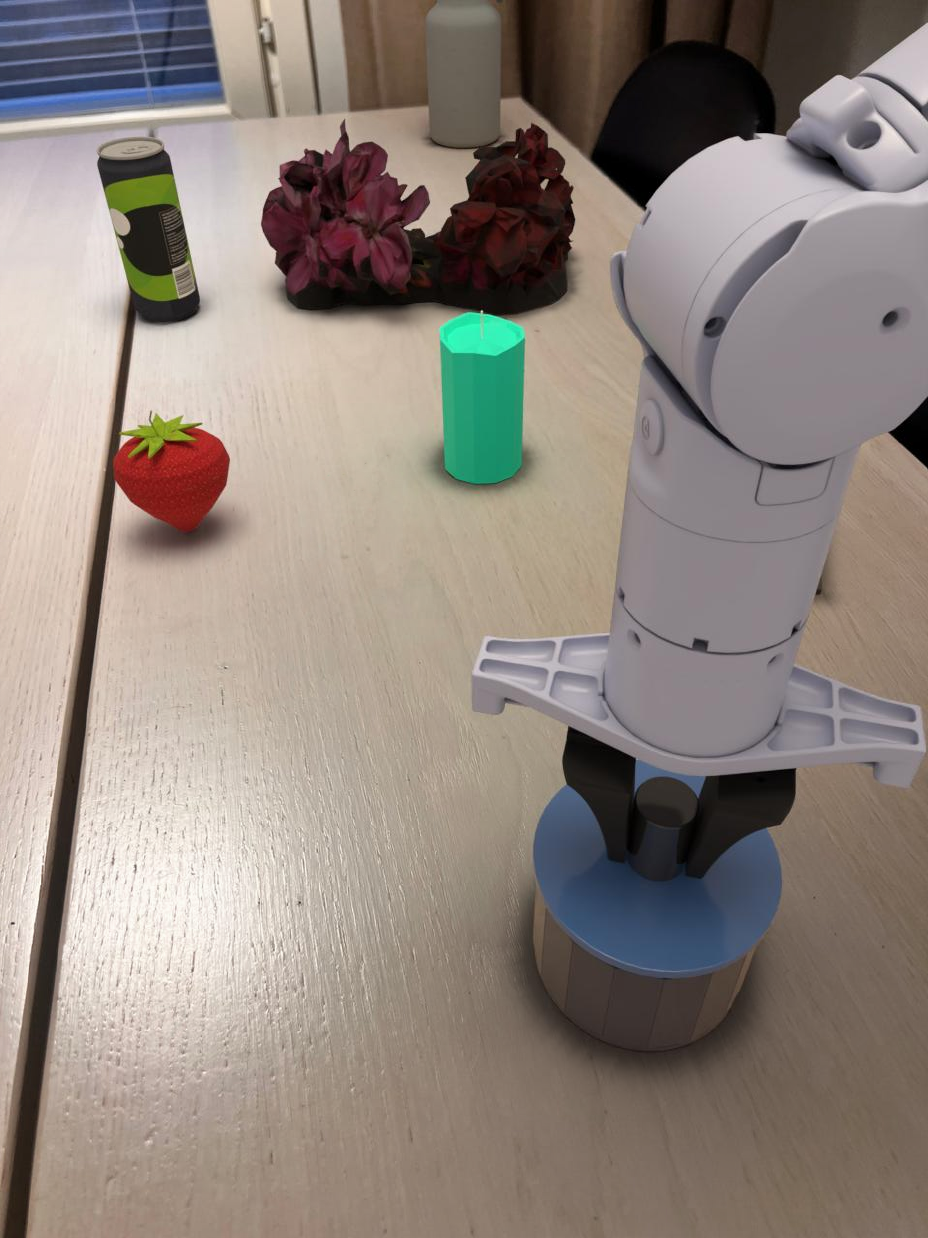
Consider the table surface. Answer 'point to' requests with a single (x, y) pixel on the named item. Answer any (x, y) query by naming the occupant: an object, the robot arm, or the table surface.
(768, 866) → the lid
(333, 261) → the flower arrangement
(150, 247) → the beverage can
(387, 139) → the table surface
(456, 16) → the water bottle
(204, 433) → the strawberry
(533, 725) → the table surface
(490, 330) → the candle
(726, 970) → the pot
